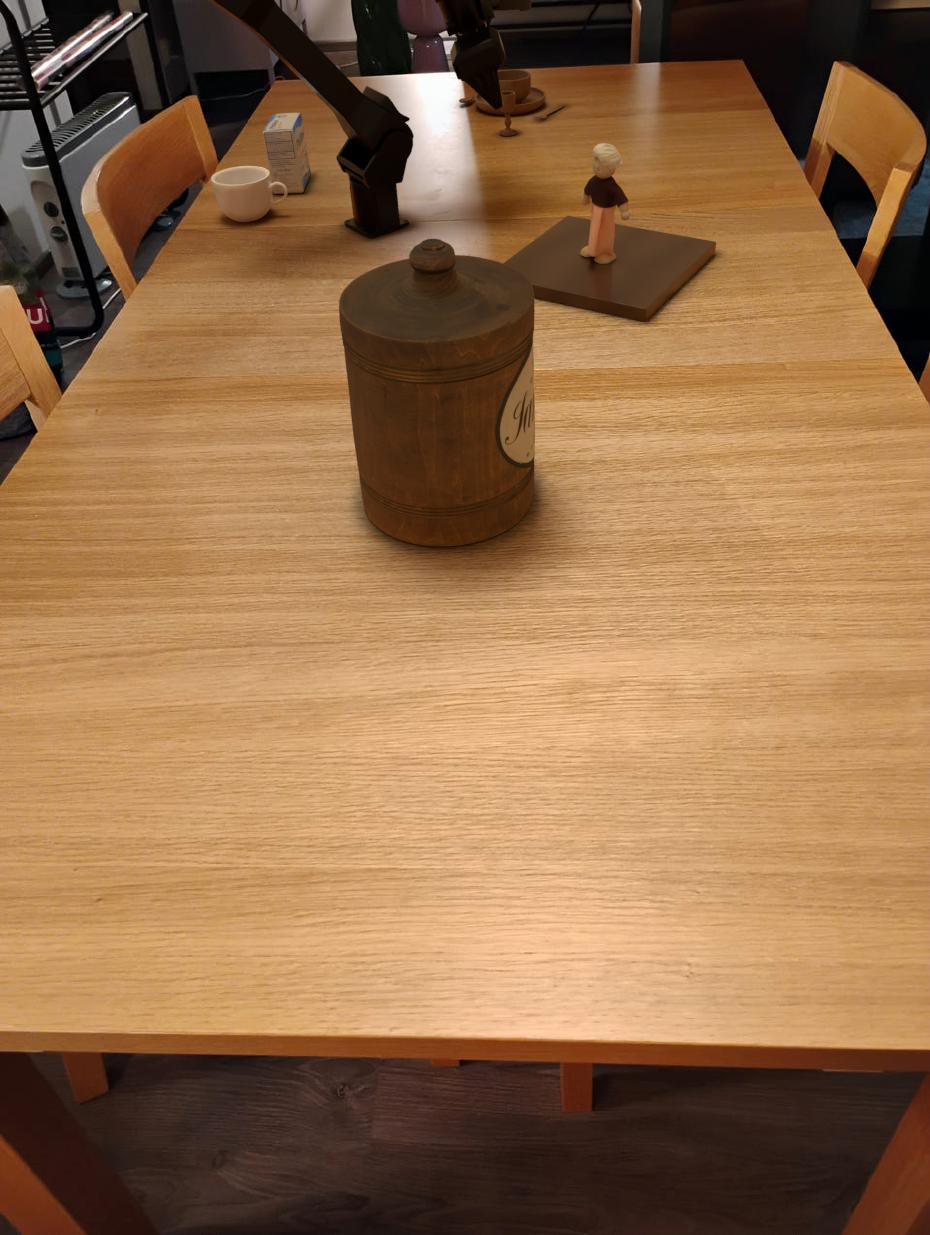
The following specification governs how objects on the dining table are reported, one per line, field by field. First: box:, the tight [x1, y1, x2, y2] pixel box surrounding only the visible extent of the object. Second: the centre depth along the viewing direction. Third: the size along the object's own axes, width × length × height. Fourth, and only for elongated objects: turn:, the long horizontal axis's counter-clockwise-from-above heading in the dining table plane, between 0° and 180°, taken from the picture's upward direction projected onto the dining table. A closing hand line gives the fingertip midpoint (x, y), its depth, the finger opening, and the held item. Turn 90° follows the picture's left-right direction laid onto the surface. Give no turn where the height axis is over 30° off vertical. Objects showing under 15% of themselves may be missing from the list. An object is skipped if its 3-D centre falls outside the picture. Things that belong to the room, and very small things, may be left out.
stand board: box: [502, 215, 717, 323], centre depth 117 cm, size 20×20×2 cm
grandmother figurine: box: [580, 142, 631, 264], centre depth 112 cm, size 8×4×13 cm, turn 47°
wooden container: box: [338, 238, 536, 547], centre depth 78 cm, size 15×15×22 cm
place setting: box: [458, 68, 566, 137], centre depth 163 cm, size 18×20×6 cm
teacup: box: [210, 165, 289, 223], centre depth 135 cm, size 10×8×5 cm
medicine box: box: [262, 112, 312, 195], centre depth 142 cm, size 8×4×9 cm, turn 179°
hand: (495, 90), depth 129 cm, fingers open, 9 cm apart
